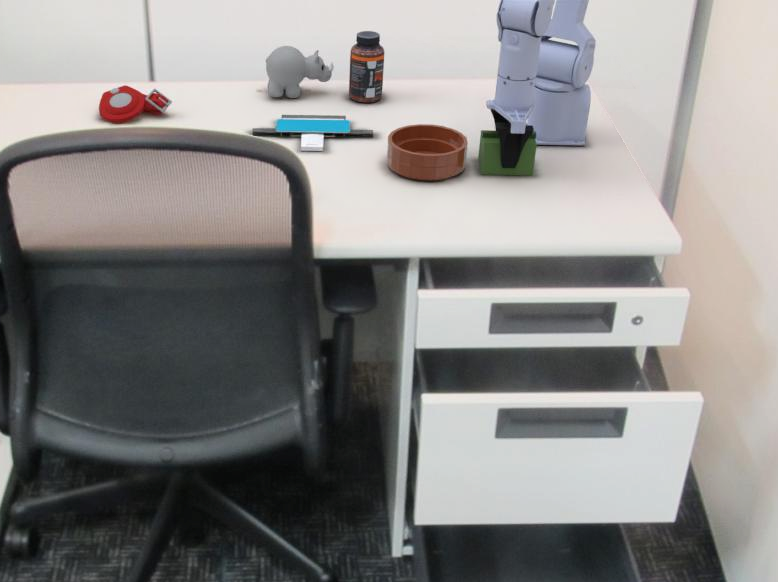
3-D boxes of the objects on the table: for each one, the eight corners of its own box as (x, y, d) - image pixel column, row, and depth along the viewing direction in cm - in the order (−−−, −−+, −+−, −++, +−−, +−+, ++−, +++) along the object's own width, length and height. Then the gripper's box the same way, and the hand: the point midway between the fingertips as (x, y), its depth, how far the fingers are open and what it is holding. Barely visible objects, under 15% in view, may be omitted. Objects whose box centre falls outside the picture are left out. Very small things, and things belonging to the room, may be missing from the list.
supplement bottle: (379, 105, 196) (382, 40, 189) (346, 102, 197) (348, 38, 190) (384, 93, 201) (387, 30, 194) (351, 90, 202) (353, 27, 195)
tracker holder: (104, 121, 186) (88, 88, 192) (111, 142, 190) (95, 108, 195) (172, 97, 188) (154, 64, 194) (177, 117, 191) (159, 85, 197)
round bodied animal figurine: (334, 101, 197) (335, 53, 192) (266, 101, 197) (265, 53, 192) (331, 86, 203) (333, 40, 198) (265, 87, 203) (265, 40, 198)
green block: (528, 162, 177) (533, 126, 173) (533, 175, 173) (538, 138, 169) (477, 161, 177) (480, 125, 173) (480, 174, 173) (484, 137, 169)
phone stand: (250, 150, 180) (249, 140, 179) (254, 121, 189) (254, 112, 188) (374, 152, 180) (374, 142, 179) (372, 123, 189) (372, 114, 188)
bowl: (461, 151, 180) (463, 124, 177) (467, 183, 170) (470, 156, 168) (385, 150, 180) (386, 123, 178) (387, 182, 170) (389, 154, 168)
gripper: (485, 57, 172) (476, 140, 180) (495, 91, 160) (485, 179, 168) (530, 58, 172) (520, 141, 180) (544, 92, 160) (532, 179, 168)
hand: (506, 159), depth 174 cm, fingers closed on green block, 5 cm apart
